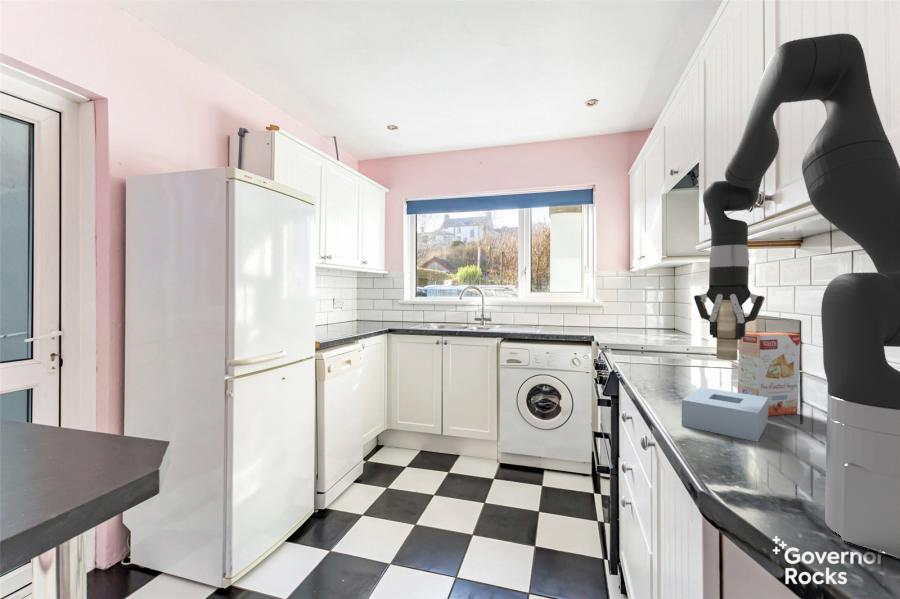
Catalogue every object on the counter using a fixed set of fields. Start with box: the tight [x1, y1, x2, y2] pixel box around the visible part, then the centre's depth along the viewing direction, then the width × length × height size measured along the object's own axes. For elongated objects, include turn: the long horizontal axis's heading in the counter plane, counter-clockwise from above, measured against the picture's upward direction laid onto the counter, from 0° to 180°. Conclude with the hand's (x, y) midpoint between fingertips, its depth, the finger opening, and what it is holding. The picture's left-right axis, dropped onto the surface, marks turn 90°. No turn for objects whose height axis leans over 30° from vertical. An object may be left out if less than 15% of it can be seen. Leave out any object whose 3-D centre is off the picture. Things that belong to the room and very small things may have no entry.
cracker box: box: [737, 331, 801, 417], centre depth 101 cm, size 14×6×21 cm, turn 105°
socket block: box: [681, 386, 769, 442], centre depth 92 cm, size 18×14×6 cm
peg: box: [715, 300, 739, 361], centre depth 92 cm, size 4×4×14 cm
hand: (727, 338), depth 92 cm, fingers closed on peg, 4 cm apart
